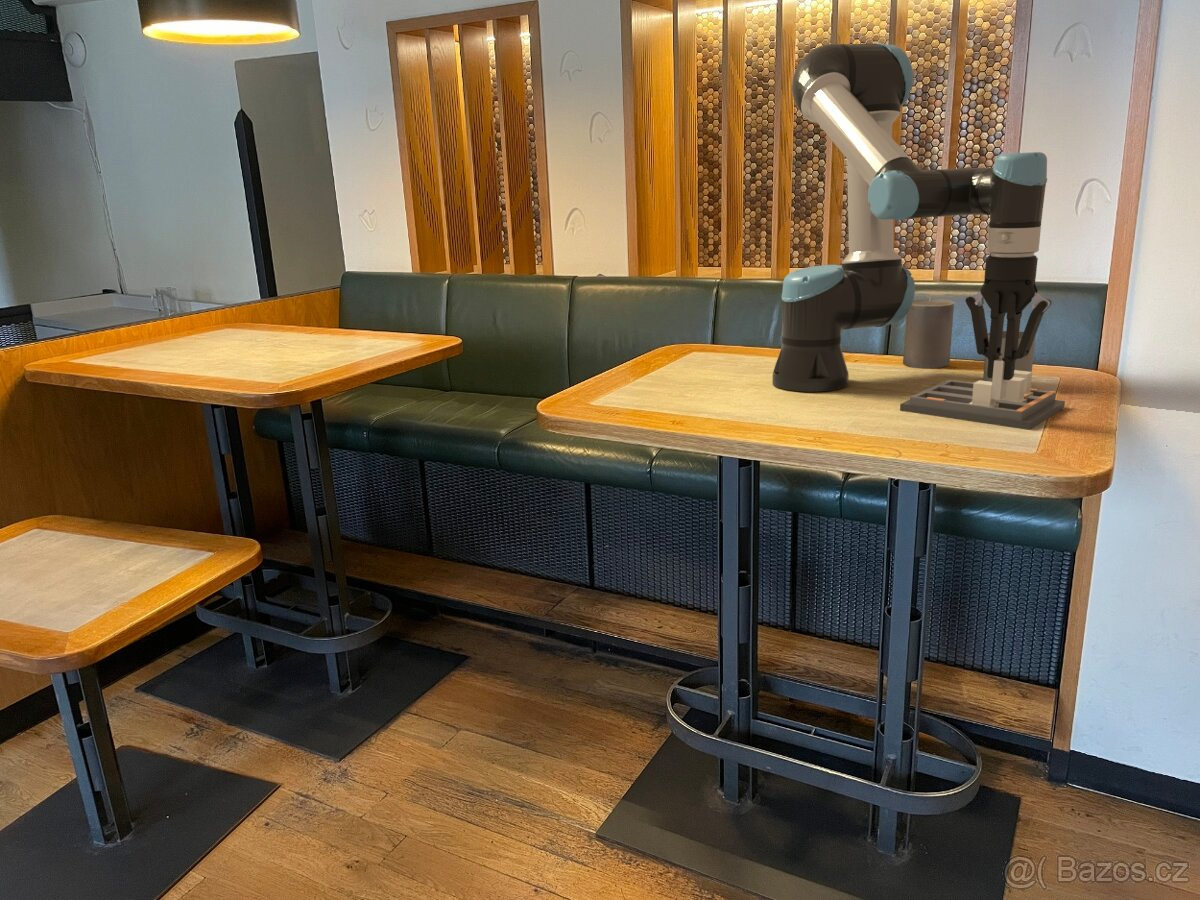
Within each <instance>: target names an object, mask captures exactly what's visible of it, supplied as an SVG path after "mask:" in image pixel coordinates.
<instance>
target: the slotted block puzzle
mask: <svg viewBox="0 0 1200 900" xmlns="http://www.w3.org/2000/svg"><path fill="white" fill-rule="evenodd" d="M973 383H974V382H971V381H963V380H955V379H947V380H945V381H943V382H940V383H938V384H936V385H933V386H931V387H928V388H927V389H925V390H923V391H920V392H918V393H916V394H913V395H911V396H909V399H907V400H906V401H904V402H901V403H900V404H899V406H900V407H899V411H902V412H910V413H916V414H923V415H929V416H936V417H941V418H942V417H944V418H951V419H955V420H963V421H968V422H969V421H970V422H977V423H983V424H990V425H996V426H1001V427H1002V426H1003V427H1009V428H1016V429H1022V430H1023V429H1024V430H1028V431H1029V430H1031V429H1034V427H1036V426H1037V425H1038V426H1039V424H1041V423H1042V422H1044V421H1046V420H1047V419H1049V418H1050V417H1051V416H1054V415H1056V414H1057V413H1058V412H1060V411H1061V410H1063V409H1064V408H1065V404H1066V401H1065V400H1061V399H1060V400H1059V399H1056V398H1057V397H1056V396H1057V391H1054V390H1049V391H1047V390H1040V389H1039V388H1031V390H1030V392H1033V396H1031V395H1029V394H1024V399H1027V403H1023V402H1016V401H1008V400H996V403H999V408H998V407H991V406H983V405H976V404H969V403H971V402H972V395H973Z"/></svg>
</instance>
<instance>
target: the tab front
mask: <svg viewBox="0 0 1200 900" xmlns="http://www.w3.org/2000/svg"><path fill="white" fill-rule="evenodd" d="M972 383H973V395H972V402H971V403H969V404H976V405H983V406H991V407H998V408H999V403H996V400H995V399H991V389H992V382H989V381H983V380H977V381H975V382H972Z"/></svg>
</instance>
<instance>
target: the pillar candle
mask: <svg viewBox="0 0 1200 900" xmlns="http://www.w3.org/2000/svg"><path fill="white" fill-rule="evenodd" d="M955 304H956V302H955V301H953V300H949V299H944V298H943V299H941V298H932V295H930V296H929V298H920V299H914V300H913V303H912V306H911V308H910V310H909V312H908V313H907V314H906V316H905V324H904V325H905V330H904V342H903V357H902V359H903V360H902V364H903V365H904V366H906V367H908V368H915V369H927V370H928V369H929V370H930V369H942V368H944V367H948V366H949V365H950V361H951V349H952V348H951V347H952V337H953V336H952V335H953V334H952V333H953V323H954V322H953V321H954V320H953V319H954V309H955Z"/></svg>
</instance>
